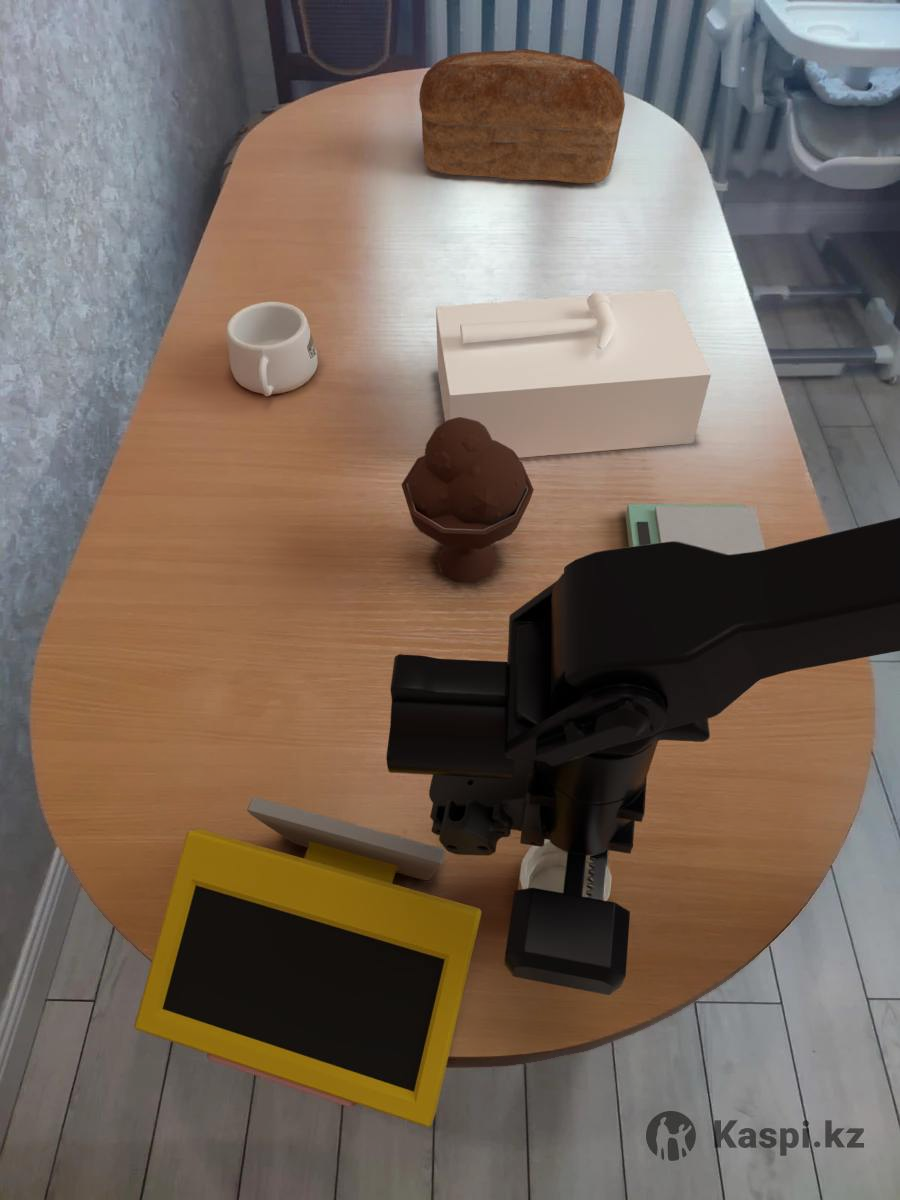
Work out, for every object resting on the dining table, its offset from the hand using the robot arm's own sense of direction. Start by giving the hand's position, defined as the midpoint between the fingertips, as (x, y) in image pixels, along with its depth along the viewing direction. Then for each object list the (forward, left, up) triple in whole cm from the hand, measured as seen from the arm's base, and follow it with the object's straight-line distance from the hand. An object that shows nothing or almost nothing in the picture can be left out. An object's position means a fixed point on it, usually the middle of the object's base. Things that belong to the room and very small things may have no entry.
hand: (568, 868), depth 58 cm
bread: (+18, -105, -6) cm, 107 cm away
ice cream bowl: (+12, -30, -6) cm, 33 cm away
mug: (+38, -53, -6) cm, 66 cm away
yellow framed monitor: (+15, -1, -2) cm, 15 cm away
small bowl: (0, 0, -6) cm, 6 cm away
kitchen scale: (-8, -33, -6) cm, 35 cm away
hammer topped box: (+6, -53, -6) cm, 54 cm away
